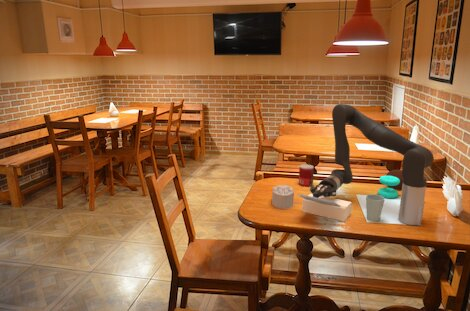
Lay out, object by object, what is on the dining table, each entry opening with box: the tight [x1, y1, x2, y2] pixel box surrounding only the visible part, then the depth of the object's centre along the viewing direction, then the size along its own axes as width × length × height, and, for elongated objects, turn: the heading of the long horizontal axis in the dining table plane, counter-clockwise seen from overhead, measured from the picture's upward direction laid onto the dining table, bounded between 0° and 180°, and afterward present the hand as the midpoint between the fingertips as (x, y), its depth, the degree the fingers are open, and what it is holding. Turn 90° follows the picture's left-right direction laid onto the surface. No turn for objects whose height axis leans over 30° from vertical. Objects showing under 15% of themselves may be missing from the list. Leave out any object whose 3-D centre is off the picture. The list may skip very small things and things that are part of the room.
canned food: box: [298, 164, 315, 188], centre depth 210 cm, size 8×8×11 cm
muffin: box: [385, 169, 403, 191], centre depth 205 cm, size 12×11×10 cm
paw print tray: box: [271, 184, 295, 210], centre depth 181 cm, size 10×13×9 cm
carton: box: [301, 193, 352, 222], centre depth 171 cm, size 20×10×6 cm, turn 56°
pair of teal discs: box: [377, 175, 400, 199], centre depth 193 cm, size 10×10×10 cm
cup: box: [365, 193, 386, 223], centre depth 164 cm, size 8×8×10 cm
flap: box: [296, 193, 340, 207], centre depth 161 cm, size 16×1×12 cm
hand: (315, 195), depth 158 cm, fingers closed
